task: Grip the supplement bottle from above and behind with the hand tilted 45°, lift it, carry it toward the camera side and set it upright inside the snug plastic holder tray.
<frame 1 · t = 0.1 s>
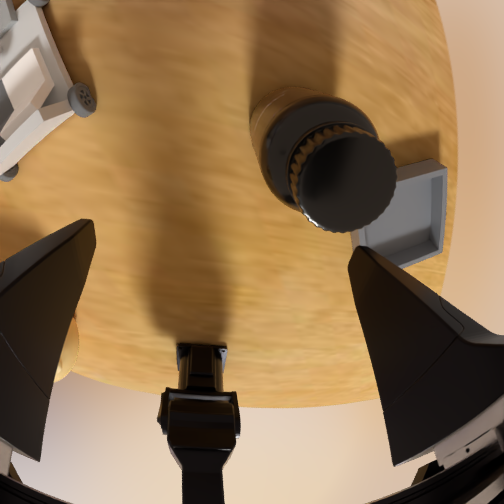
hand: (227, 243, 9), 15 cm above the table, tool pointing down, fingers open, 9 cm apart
sculpture: (49, 308, 30), on the table
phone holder: (19, 68, 14), on the table
supplement bottle: (291, 127, 21), on the table
holder tray: (394, 215, 26), on the table
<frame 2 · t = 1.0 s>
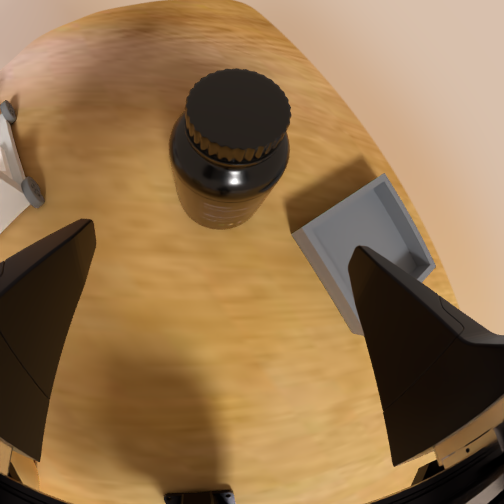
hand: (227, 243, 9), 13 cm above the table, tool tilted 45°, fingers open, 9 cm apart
sculpture: (8, 446, 15), on the table
supplement bottle: (219, 192, 23), on the table
holder tray: (364, 253, 25), on the table
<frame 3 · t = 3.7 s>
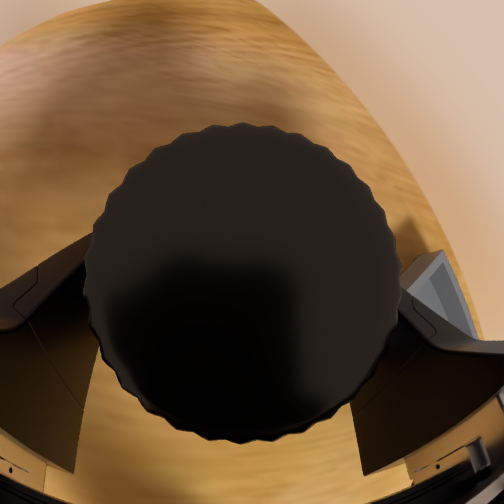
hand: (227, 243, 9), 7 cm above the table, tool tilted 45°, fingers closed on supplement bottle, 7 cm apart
supplement bottle: (213, 292, 16), on the table, touching gripper
holder tray: (407, 355, 17), on the table
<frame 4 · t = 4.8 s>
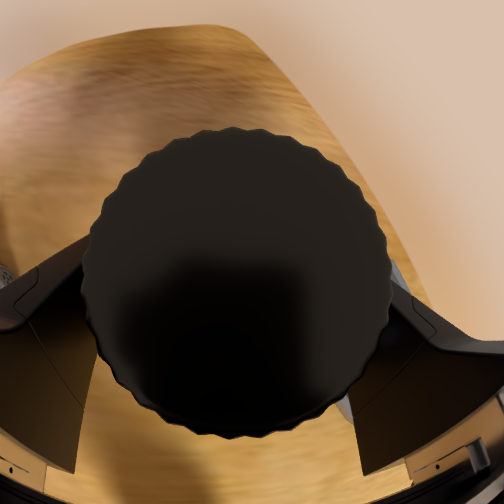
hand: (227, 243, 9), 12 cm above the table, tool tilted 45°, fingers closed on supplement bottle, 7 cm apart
supplement bottle: (219, 292, 16), point 6 cm above the table, touching gripper
holder tray: (364, 343, 23), on the table
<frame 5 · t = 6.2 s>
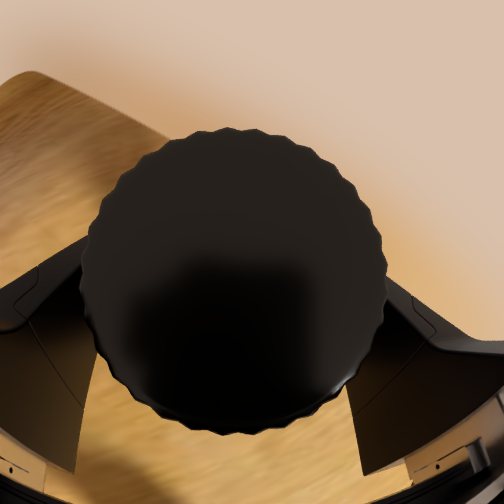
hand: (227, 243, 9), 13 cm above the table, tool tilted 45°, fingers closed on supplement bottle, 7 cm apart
supplement bottle: (222, 291, 16), point 6 cm above the table, touching gripper
when the fingers open (8 cm above the table, at t = 7.8 s): supplement bottle stays where it is, resting on holder tray.
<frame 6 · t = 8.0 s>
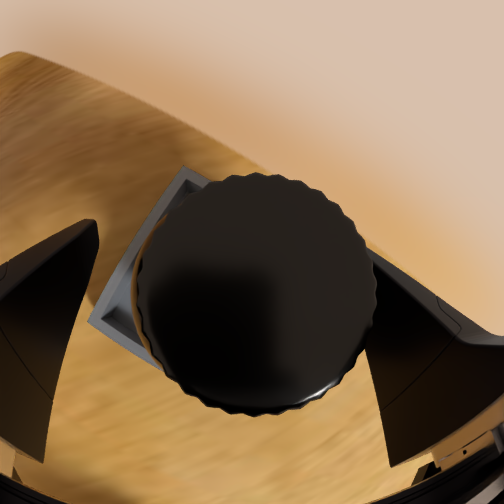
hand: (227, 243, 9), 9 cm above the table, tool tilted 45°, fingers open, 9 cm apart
supplement bottle: (220, 295, 17), resting on holder tray
holder tray: (211, 292, 17), on the table
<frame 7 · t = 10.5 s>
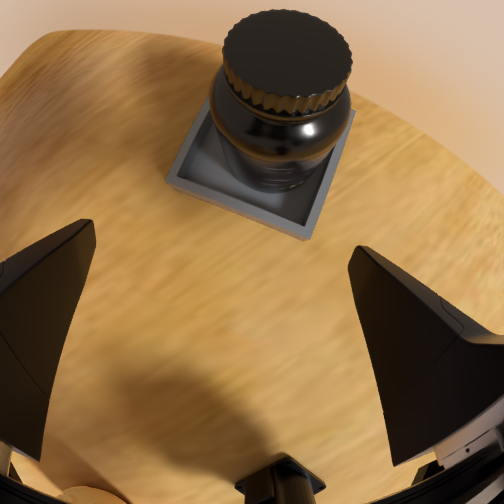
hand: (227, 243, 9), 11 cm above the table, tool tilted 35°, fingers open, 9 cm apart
supplement bottle: (271, 152, 20), resting on holder tray
holder tray: (264, 152, 21), on the table
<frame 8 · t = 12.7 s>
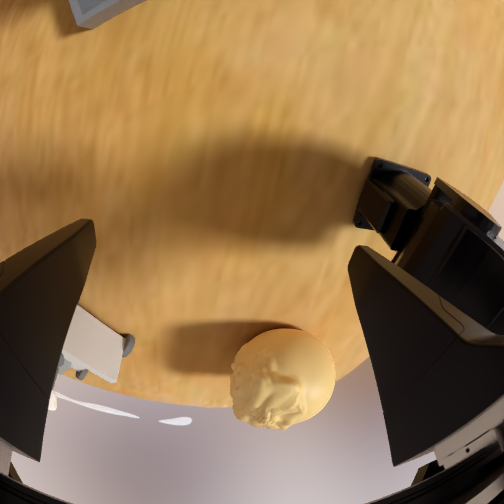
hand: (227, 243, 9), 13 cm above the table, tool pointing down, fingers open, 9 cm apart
sculpture: (276, 344, 34), on the table
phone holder: (68, 331, 31), on the table
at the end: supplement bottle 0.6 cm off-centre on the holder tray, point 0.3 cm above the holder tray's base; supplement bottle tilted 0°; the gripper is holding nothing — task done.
